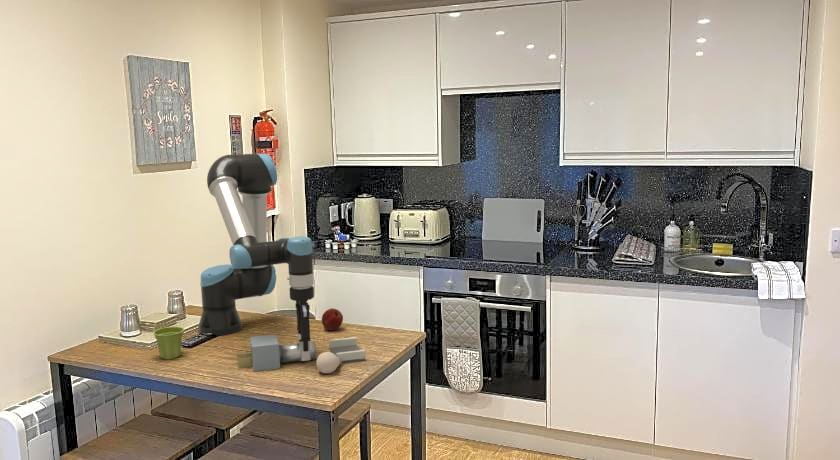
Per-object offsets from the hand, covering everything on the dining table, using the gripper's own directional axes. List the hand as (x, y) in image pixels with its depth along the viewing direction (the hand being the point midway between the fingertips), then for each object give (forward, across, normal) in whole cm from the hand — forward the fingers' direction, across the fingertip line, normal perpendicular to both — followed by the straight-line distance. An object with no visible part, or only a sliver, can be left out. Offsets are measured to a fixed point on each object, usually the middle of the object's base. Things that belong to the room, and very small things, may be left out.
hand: (304, 356), depth 208 cm
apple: (+1, -28, +14) cm, 31 cm away
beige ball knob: (+1, +12, +7) cm, 13 cm away
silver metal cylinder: (+1, -1, -2) cm, 3 cm away
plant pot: (+1, -18, -41) cm, 45 cm away
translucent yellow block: (+1, -1, -17) cm, 17 cm away
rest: (+1, 0, +14) cm, 14 cm away
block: (+1, 0, -12) cm, 12 cm away
